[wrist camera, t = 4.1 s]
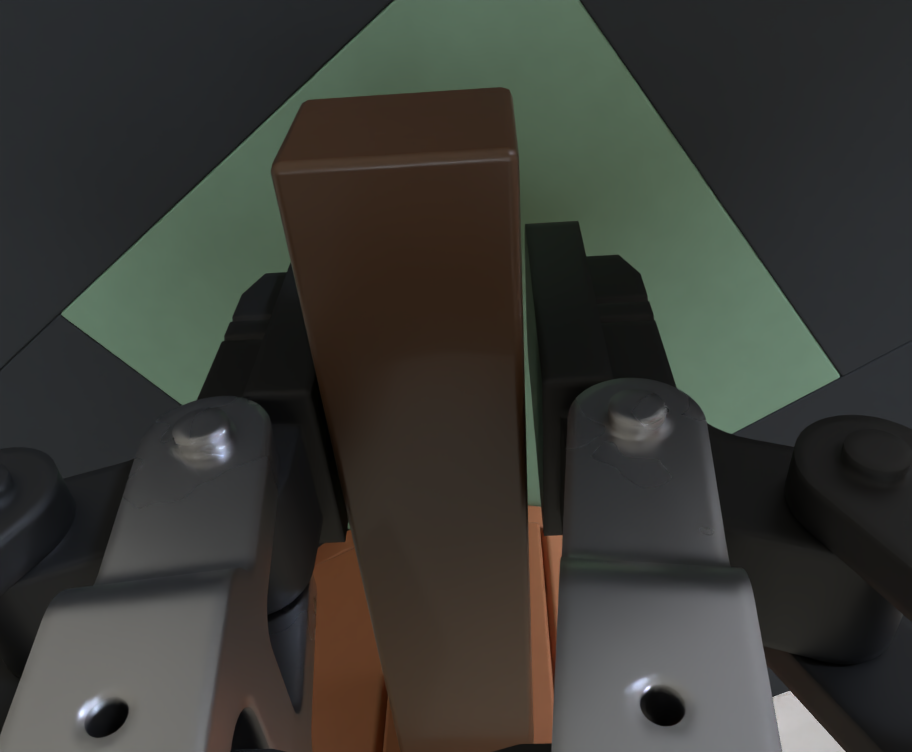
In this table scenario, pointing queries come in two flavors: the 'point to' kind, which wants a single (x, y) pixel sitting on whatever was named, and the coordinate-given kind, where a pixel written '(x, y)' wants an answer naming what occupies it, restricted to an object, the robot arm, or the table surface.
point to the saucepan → (421, 423)
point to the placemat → (541, 188)
